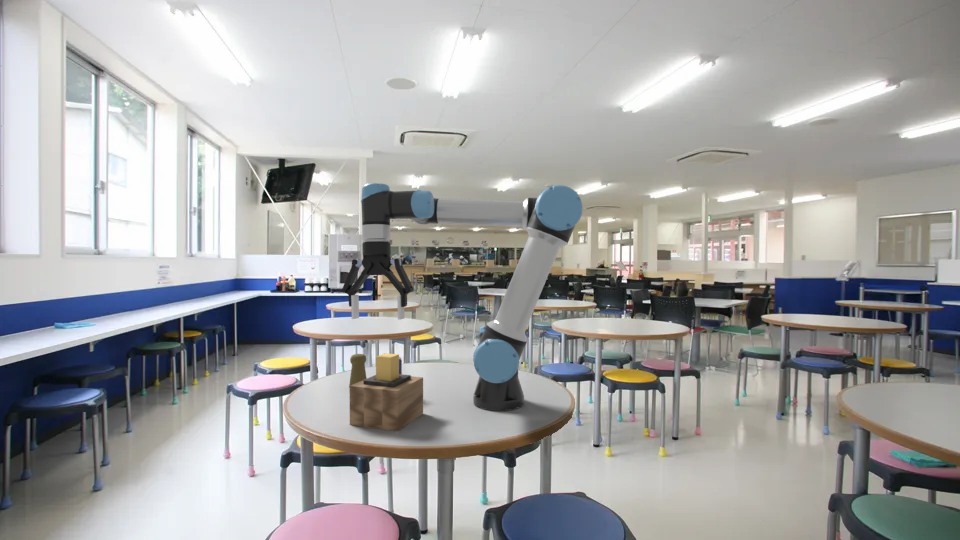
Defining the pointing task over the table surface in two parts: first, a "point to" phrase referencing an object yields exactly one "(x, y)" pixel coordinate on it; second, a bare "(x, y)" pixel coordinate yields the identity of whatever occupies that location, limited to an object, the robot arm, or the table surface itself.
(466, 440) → the table surface
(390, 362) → the peg
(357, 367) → the cork
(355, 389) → the socket block
